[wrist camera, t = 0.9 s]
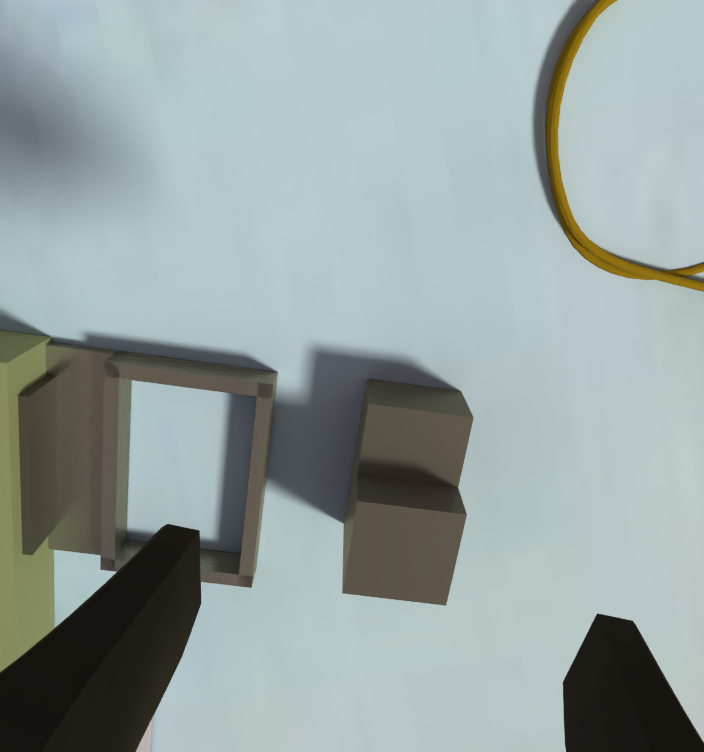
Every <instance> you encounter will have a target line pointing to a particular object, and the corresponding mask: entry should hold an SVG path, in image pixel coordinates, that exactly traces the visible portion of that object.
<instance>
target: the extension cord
mask: <svg viewBox="0 0 704 752" xmlns="http://www.w3.org/2000/svg"><path fill="white" fill-rule="evenodd" d="M615 1H617V0H598V2H597V3H596V4H595V5H594V6H593V8H592V9H591V10H590V11H589V12H588V13H587V14H586V15H585V16H584V17H583V19H582V20H581V21H580V22H579V24H578V25H577V26H576V27H575V29H574V30H573V32H572V34H571V35H570V37H569V39H568V40H567V42H566V44H565V45H564V48H563V50H562V52H561V54H560V57H559V59H558V61H557V64H556V67H555V70H554V74H553V77H552V80H551V85H550V91H549V97H548V102H547V116H546V147H547V157H548V167H549V174H550V180H551V186H552V191H553V196H554V200H555V204H556V208H557V212H558V215H559V219H560V222H561V224H562V227H563V229H564V232H565V234H566V236H567V237H568V239H569V240H570V242H571V244H572V245H573V247H574V248H575V249H576V250H577V251H578V252H579V253H580V254H581V255H582V256H583V257H584V258H585V259H586V260H588V261H589V262H591V263H592V264H594V265H595V266H597V267H598V268H601V269H603V270H605V271H607V272H610V273H612V274H615V275H619V276H623V277H627V278H633V279H643V280H659V281H663V282H667V283H671V284H675V285H679V286H683V287H687V288H691V289H695V290H699V291H703V292H704V282H700V281H696V280H692V279H687V278H683V276H689V275H693V274H696V273H700V272H703V271H704V263H703V264H699V265H695V266H692V267H689V268H683V269H677V270H671V271H656V270H653V269H650V268H646V267H643V266H640V265H636V264H633V263H630V262H627V261H625V260H623V259H620V258H618V257H616V256H614V255H611V254H610V253H608V252H606V251H605V250H603V249H601V248H600V247H598V246H597V245H596V244H594V243H593V242H592V241H590V240H589V239H588V238H587V237H586V236H585V234H584V233H583V232H582V231H581V230H580V228H579V226H578V225H577V223H576V222H575V220H574V218H573V215H572V213H571V210H570V207H569V205H568V201H567V198H566V194H565V190H564V187H563V183H562V179H561V172H560V164H559V157H558V124H559V114H560V105H561V101H562V96H563V92H564V87H565V82H566V79H567V77H568V74H569V71H570V68H571V65H572V62H573V59H574V57H575V55H576V53H577V51H578V49H579V47H580V45H581V42H582V40H583V38H584V37H585V35H586V34H587V32H588V30H589V29H590V27H591V26H592V24H593V22H594V21H595V19H596V18H597V17H598V16H599V15H600V14H601V13H602V12H603V11H604V10H605V9H606V8H607V7H608V6H610V5H611V4H612V3H614V2H615Z"/></svg>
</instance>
